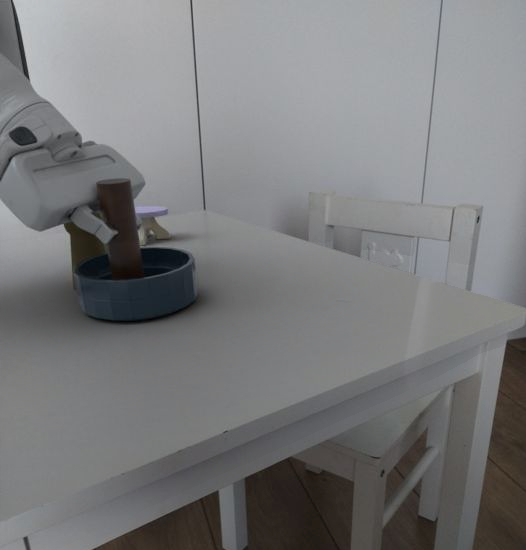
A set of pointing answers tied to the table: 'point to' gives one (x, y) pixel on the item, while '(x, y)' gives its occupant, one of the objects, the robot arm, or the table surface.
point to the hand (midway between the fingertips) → (125, 233)
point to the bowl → (137, 286)
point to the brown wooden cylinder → (121, 228)
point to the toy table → (151, 222)
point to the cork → (83, 244)
